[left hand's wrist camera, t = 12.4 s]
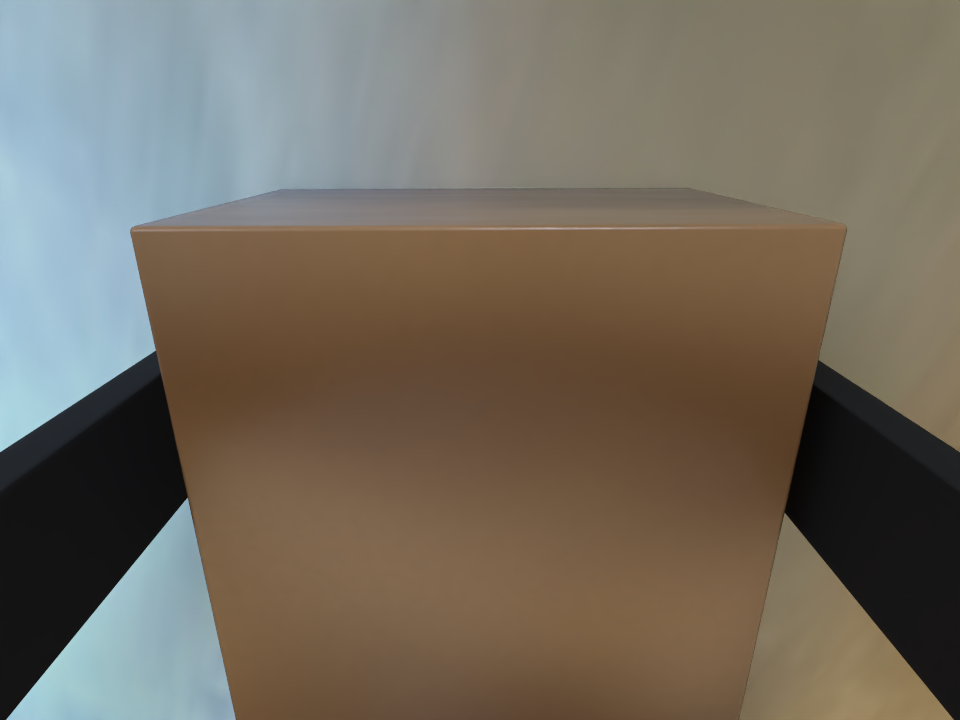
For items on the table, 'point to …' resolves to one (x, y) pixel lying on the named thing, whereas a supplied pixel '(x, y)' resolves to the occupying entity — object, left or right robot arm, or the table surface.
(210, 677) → the table surface
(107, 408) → the left robot arm
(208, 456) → the thick board
